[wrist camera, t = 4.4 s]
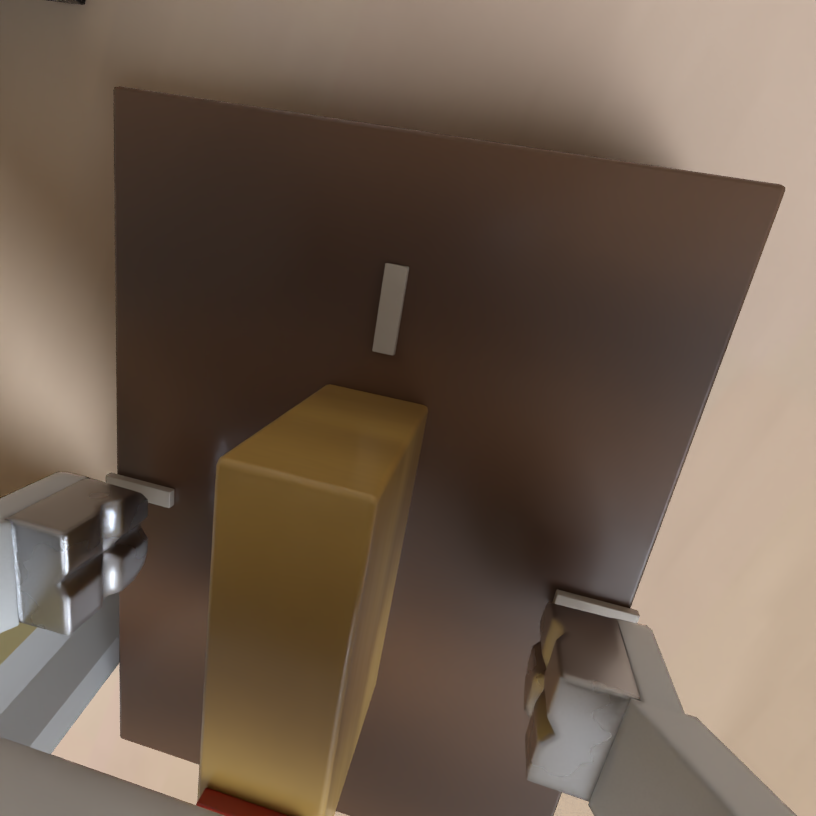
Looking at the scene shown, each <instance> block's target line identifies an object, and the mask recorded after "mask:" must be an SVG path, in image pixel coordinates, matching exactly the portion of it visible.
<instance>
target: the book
mask: <svg viewBox="0 0 816 816" xmlns="http://www.w3.org/2000/svg"><path fill="white" fill-rule="evenodd" d="M119 662H120V660H119V592H117V593H114V594H111V595H108V596H105V597H103V603H102V608H101V609H100V610H99V611H98V612H96V613H95V614H94V615H93V616H92V617H91V618H89V619H88V620H87V621H86V622H85V623H83V624H82V625H81V626H80V627H79V628H78V629H76V630H75V631H74V632H73V633H72V634H70V635H69V636H67V635H63V634H60V633H56V632H52V631H49V630H45V629H42V628H38V627H34V626H31V625H27V624H24V623H20V622H19V625H18V626H16V627H14V628H11V629H9V630H6V631H4V632H2V633H0V737H3V738H6V739H9V740H11V741H14V742H17V743H20V744H23V745H26V746H29V747H31V748H34V749H37V750H40V751H43V752H46V753H48V754H51V753H52V752H53V750H54V749H55V748H56V746H57V745H58V744H59V742H60V741H61V740H62V738H63V737H64V736H65V734H66V733H67V732H68V730H69V729H70V728H71V726H72V725H73V724H74V722H75V721H76V720H77V718H78V717H79V716H80V714H81V713H82V712H83V710H84V709H85V708H86V706H87V705H88V704H89V702H90V701H91V700H92V698H93V697H94V696H95V694H96V693H97V692H98V690H99V689H100V688H101V686H102V685H103V684H104V682H105V681H106V680H107V678H108V677H109V676H110V674H111V673H112V672H113V670H114V669H115V668H116V666H117V665H118V664H119Z"/></svg>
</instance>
